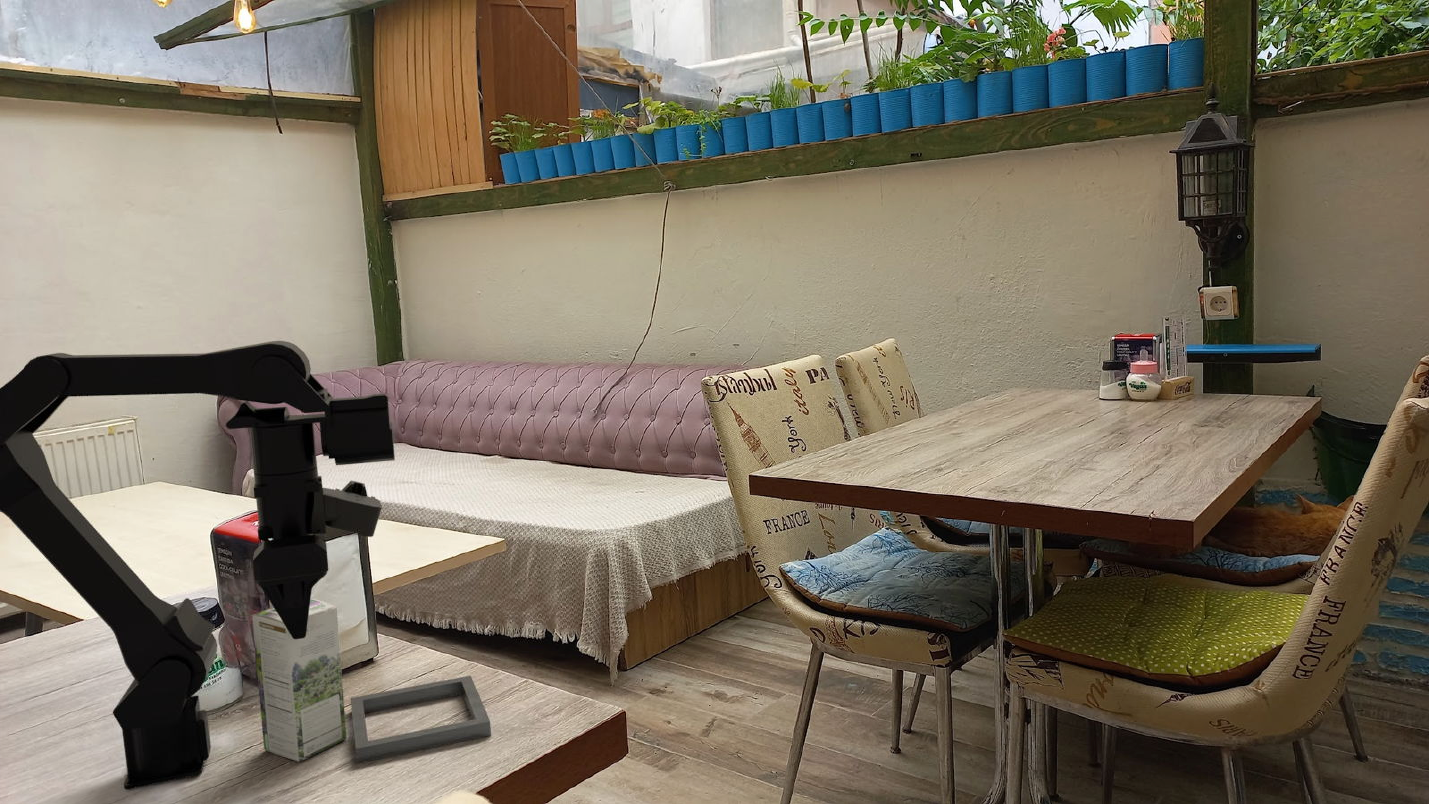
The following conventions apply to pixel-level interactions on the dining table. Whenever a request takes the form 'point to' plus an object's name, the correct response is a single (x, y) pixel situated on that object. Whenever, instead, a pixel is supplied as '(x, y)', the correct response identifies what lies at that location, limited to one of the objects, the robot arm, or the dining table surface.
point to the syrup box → (300, 683)
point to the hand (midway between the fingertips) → (300, 623)
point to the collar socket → (423, 737)
